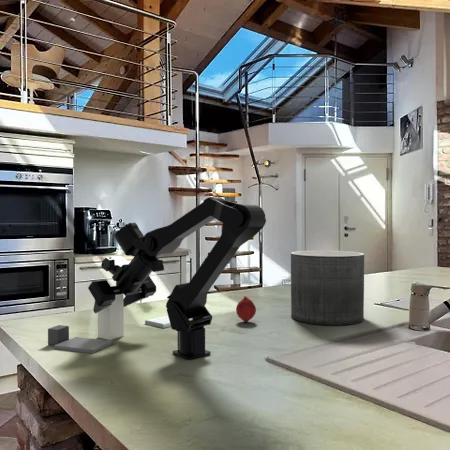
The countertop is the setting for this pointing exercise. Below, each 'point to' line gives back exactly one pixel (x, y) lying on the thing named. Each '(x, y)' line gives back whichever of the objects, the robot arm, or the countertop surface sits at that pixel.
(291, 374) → the countertop surface
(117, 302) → the brick
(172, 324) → the robot arm
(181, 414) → the countertop surface
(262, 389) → the countertop surface
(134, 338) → the countertop surface
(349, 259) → the planter
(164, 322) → the external hard drive
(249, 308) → the onion
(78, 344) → the charging dock
